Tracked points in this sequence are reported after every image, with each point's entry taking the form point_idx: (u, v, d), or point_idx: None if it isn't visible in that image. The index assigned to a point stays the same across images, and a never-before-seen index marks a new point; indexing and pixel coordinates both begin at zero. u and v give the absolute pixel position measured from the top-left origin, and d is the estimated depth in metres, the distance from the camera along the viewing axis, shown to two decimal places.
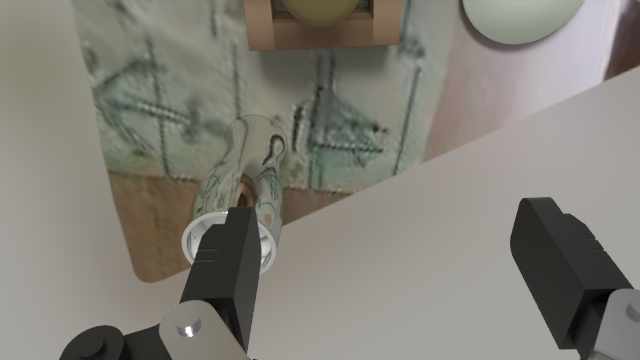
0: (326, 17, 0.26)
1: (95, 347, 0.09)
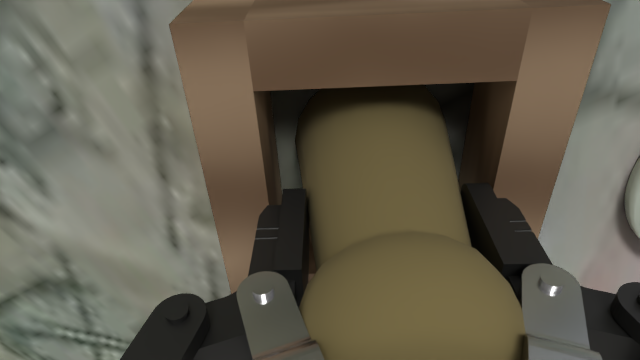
0: None
1: (180, 313, 0.09)
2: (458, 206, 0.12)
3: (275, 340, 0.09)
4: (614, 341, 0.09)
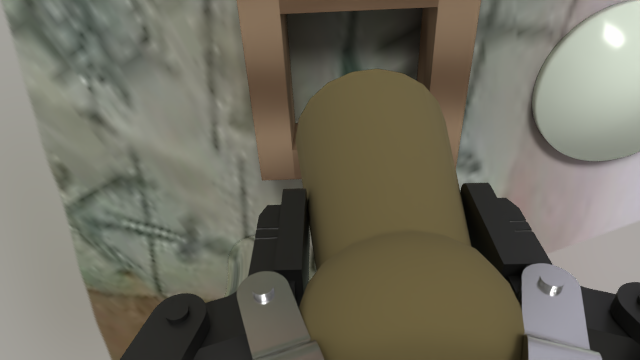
0: None
1: (180, 313, 0.09)
2: (458, 206, 0.12)
3: (275, 340, 0.09)
4: (614, 341, 0.09)
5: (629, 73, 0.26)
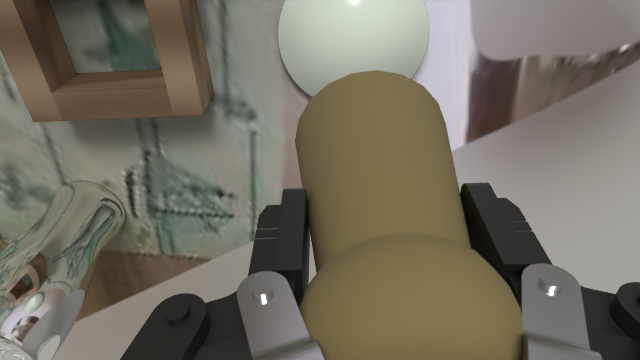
0: None
1: (180, 313, 0.09)
2: (458, 208, 0.12)
3: (275, 340, 0.09)
4: (614, 341, 0.09)
5: (353, 23, 0.29)
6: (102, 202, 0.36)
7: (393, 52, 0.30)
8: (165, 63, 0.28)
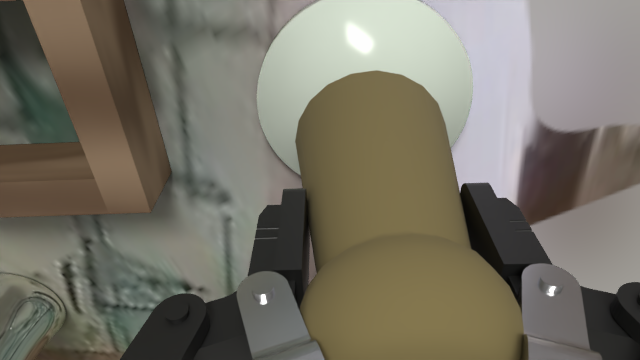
0: None
1: (180, 313, 0.09)
2: (458, 208, 0.12)
3: (275, 340, 0.09)
4: (614, 341, 0.09)
5: None
6: (30, 303, 0.28)
7: None
8: (89, 147, 0.19)
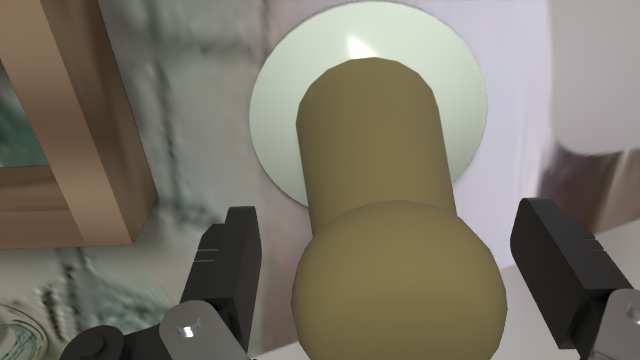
0: None
1: (95, 347, 0.09)
2: (446, 183, 0.13)
3: None
4: None
5: None
6: (8, 333, 0.26)
7: None
8: (63, 177, 0.17)
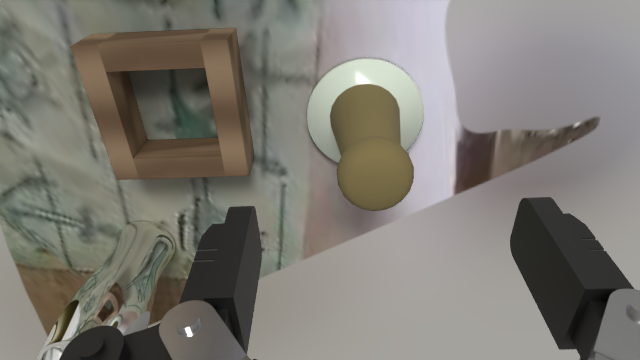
0: (380, 207, 0.30)
1: (95, 347, 0.09)
2: (396, 135, 0.32)
3: None
4: None
5: None
6: (159, 238, 0.45)
7: None
8: (222, 139, 0.36)
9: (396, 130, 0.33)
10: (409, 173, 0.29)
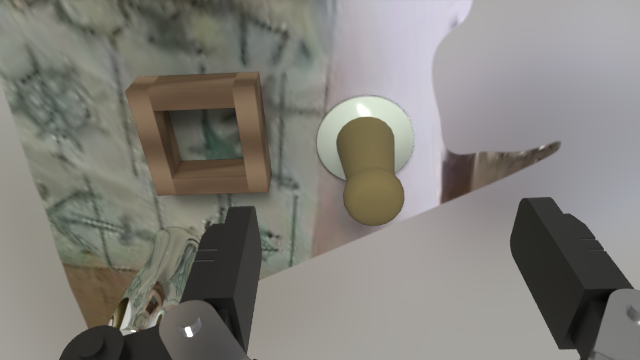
0: (377, 223, 0.38)
1: (95, 347, 0.09)
2: (391, 163, 0.40)
3: None
4: None
5: None
6: (189, 242, 0.53)
7: None
8: (247, 163, 0.44)
9: (391, 159, 0.40)
10: (400, 197, 0.37)
